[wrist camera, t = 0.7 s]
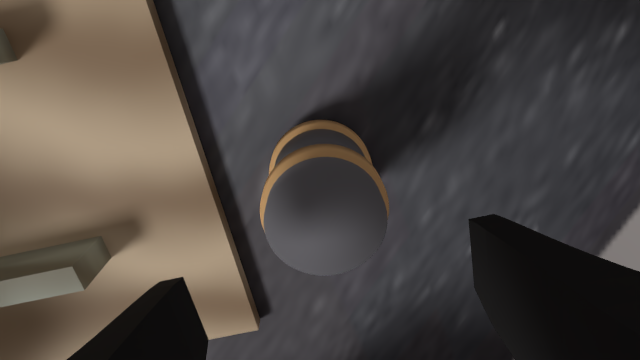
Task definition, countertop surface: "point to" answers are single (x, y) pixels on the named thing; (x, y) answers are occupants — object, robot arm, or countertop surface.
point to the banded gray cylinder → (323, 200)
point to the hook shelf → (102, 180)
